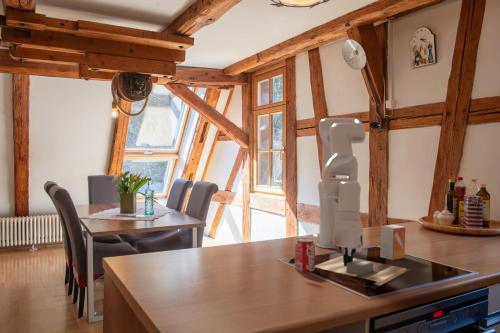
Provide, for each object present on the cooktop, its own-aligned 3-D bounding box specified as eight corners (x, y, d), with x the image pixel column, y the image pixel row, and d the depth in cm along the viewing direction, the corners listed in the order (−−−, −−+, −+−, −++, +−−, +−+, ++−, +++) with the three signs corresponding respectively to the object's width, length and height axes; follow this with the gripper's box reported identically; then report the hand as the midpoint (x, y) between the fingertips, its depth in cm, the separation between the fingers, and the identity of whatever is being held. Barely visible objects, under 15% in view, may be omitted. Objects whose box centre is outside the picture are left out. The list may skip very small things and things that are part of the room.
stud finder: (346, 271, 144) (346, 262, 144) (358, 267, 150) (358, 258, 150) (362, 275, 140) (362, 266, 140) (373, 270, 146) (373, 262, 145)
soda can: (316, 271, 149) (316, 238, 148) (312, 276, 142) (313, 242, 142) (297, 269, 151) (297, 236, 151) (292, 274, 144) (293, 240, 144)
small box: (392, 260, 165) (393, 228, 165) (379, 257, 170) (380, 226, 170) (405, 257, 170) (405, 226, 169) (392, 254, 175) (393, 224, 174)
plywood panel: (312, 269, 150) (312, 266, 150) (342, 258, 167) (342, 255, 167) (379, 285, 133) (380, 282, 133) (405, 271, 149) (405, 268, 149)
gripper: (325, 214, 150) (324, 263, 150) (363, 218, 140) (362, 272, 140) (336, 212, 155) (335, 260, 156) (373, 216, 145) (372, 267, 146)
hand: (347, 265), depth 148 cm, fingers closed
